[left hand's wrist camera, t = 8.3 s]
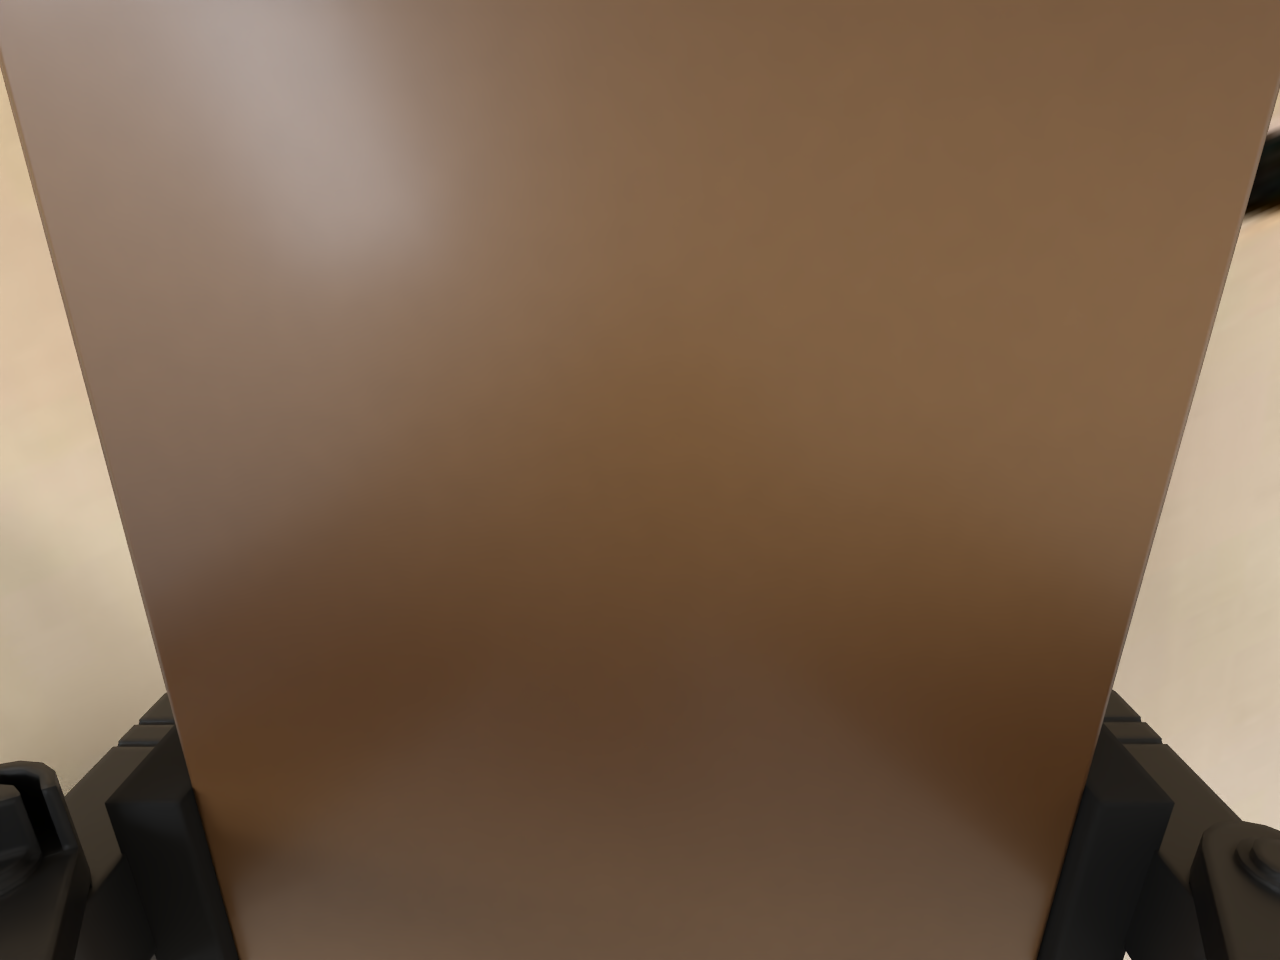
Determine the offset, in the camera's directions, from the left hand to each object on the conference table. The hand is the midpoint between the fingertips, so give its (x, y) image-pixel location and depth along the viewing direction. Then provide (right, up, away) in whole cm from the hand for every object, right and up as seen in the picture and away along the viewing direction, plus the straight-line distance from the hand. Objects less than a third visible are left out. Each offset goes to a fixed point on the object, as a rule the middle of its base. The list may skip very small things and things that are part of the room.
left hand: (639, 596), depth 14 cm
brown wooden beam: (0, +21, -7) cm, 22 cm away
